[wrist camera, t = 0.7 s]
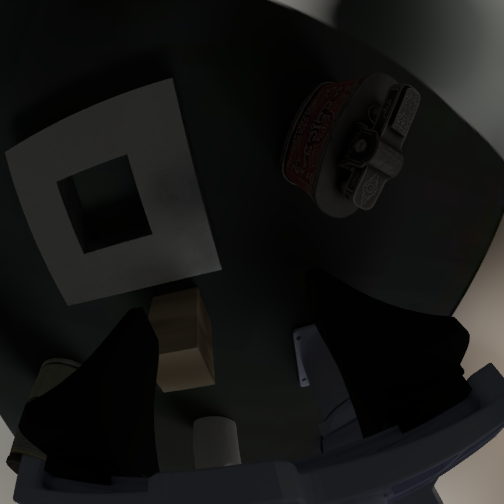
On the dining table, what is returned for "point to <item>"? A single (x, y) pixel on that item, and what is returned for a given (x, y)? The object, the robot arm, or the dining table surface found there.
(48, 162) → the square hole board
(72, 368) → the coffee can
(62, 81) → the dining table surface
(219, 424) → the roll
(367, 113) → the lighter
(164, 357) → the peg
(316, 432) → the dining table surface
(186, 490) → the robot arm
